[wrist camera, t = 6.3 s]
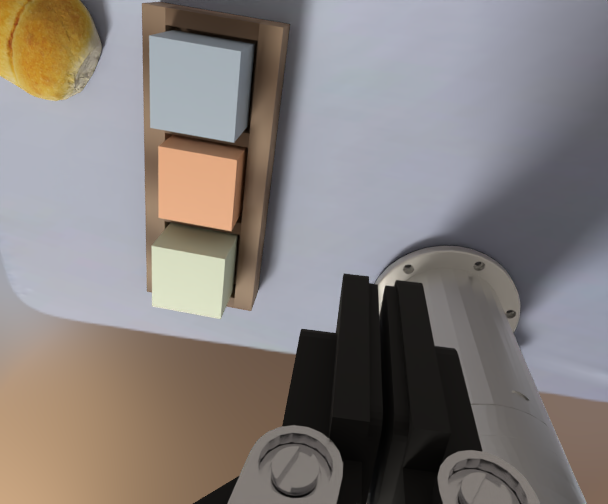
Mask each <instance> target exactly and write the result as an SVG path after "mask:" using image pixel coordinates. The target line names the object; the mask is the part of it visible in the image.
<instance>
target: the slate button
mask: <svg viewBox="0 0 608 504" xmlns="http://www.w3.org/2000/svg"><path fill="white" fill-rule="evenodd" d="M254 48H255V44H252V43H246V42H240V41H234V40H229V39H223V38H217V37H211V36H206V35H200V34H194V33H188V32H182V31H177V30H171V31H166V32H162V33H158V34H154V35H149V65H150V128H154V129H160V130H165V131H171V132H176V133H182V134H188V135H193V136H199V137H205V138H210V139H216V140H221V141H227V142H233V143H234V142H235V141H236V140H237V139H238V137H239V136H240V135H241V134H242V133H243V131H244V130H245V129H246V128H247V127H248V116H249V105H250V93H251V82H252V71H253V60H254Z"/></svg>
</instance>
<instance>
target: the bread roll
mask: <svg viewBox="0 0 608 504" xmlns="http://www.w3.org/2000/svg"><path fill="white" fill-rule="evenodd" d="M101 50H102V45H101V41H100V38H99V35H98V33H97V30H96V27H95V24H94V22H93V19H92V17H91V15H90V13H89V11H88V10H87V9H86V7H85V6H84V4H83V3H82V2H81V1H80V0H0V76H2V77H3V78H5V79H6V80H8V81H10V82H11V83H13V84H15V85H17V86H18V87H20V88H21V89H23V90H25V91H26V92H27V93H29V94H31V95H33V96H35V97H38V98H42V99H47V100H54V101H58V100H65V99H67V98H69V97H71V96H73V95H75V94H77V93H79V92H81V91H82V90H83V88H84V87H85V86H86V84H87V82H88V81H89V79H90V78H91V76H92V74H93V72H94V70H95V67H96V65H97V63H98V59H99V57H100V54H101Z"/></svg>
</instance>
